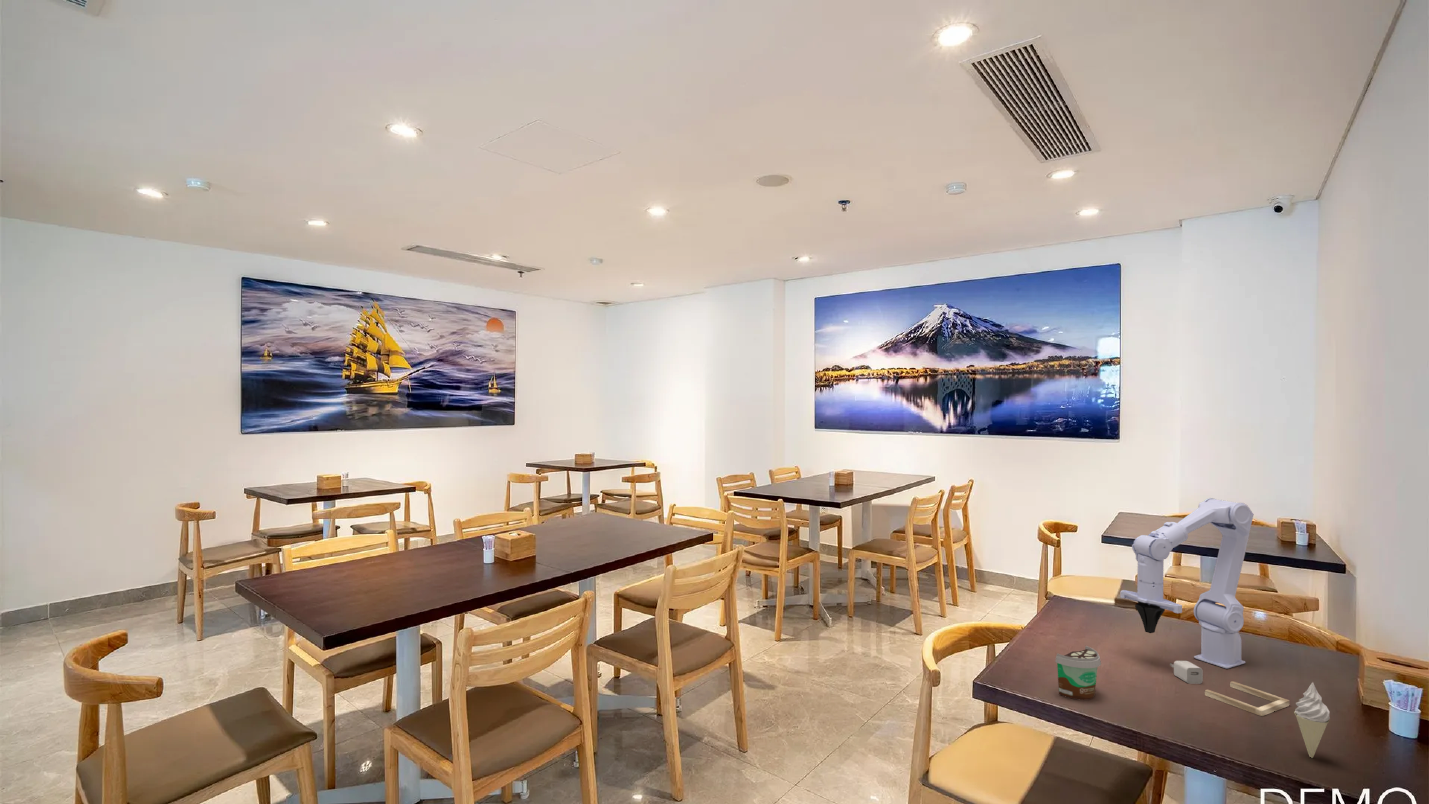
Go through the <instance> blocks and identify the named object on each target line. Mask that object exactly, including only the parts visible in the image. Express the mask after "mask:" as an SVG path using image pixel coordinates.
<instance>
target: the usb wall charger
mask: <svg viewBox="0 0 1429 804" xmlns="http://www.w3.org/2000/svg"><path fill="white" fill-rule="evenodd" d="M1169 666H1170V667H1171V668H1173V674H1174V676H1175V677H1177V678H1178V679H1180V680H1182V681H1183V682H1185V683H1187V684H1190V685H1191V684H1193V685H1194V684H1195V685H1196V684H1198V685H1199V684H1200V685H1201V684H1202V683H1203V677H1204V676H1203V673H1204V671H1203V668H1202V667H1199V666H1197V665H1196V664H1194V663H1192V662H1191V661H1188V660H1175V661H1174V662H1173V664H1172V663H1169Z"/></svg>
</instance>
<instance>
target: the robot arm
mask: <svg viewBox="0 0 1429 804" xmlns="http://www.w3.org/2000/svg"><path fill="white" fill-rule="evenodd" d="M1253 518H1254V513H1253V511H1252V510H1251V508H1250V507H1249V506H1248V505H1247V504H1246V503H1244V502H1236V501H1230V500H1222V499H1217V498H1213V497H1209V498H1206V499H1205V500H1203V501H1201V502H1199V503H1198V507H1197V508H1196V509H1194V510H1193V511H1192V512H1191V513H1189V514H1188V515H1186V516H1185V517H1183V518H1182V519H1180V520H1178V522H1175V521H1166V522H1164V523H1163V526H1161V527H1159V528H1158V529H1156V530H1152V531H1151V532H1150V533H1149V534H1148V535H1147V534H1141V535H1139V536H1138V537H1136V538H1135V539H1134V540H1133V544H1131V548H1132V551H1133V553H1134V554H1135V560H1136V562H1137V585H1136V586H1137V587H1136V588H1137V591H1131V590H1126V589H1123V590H1120V593H1119V595H1120V599H1127V600H1130V601H1133V602H1137V604H1134V606H1135V607H1134V608H1135V609H1136V610H1137V612H1138V614H1139V616H1140V619H1141V621H1142V625H1143V628H1144V632H1145V633H1148V634H1153V633H1156V628H1157V625H1158V624H1159V623H1158V622H1159V621H1160V619H1161V616H1162V615H1163V614H1164V613H1165V612H1166V610H1167V611H1170V612H1173V613H1175V614H1181V613H1183V604H1181V603H1180V604H1179V603H1176V602H1174V601H1171V600H1168V599H1165V598H1164V560H1166V559H1168V557H1169V555H1170V553H1171V552H1172V551H1173V548H1176V547H1178V546H1179V545H1181V544H1183V543H1184V542H1186V541H1187V540H1188V538H1189V534H1190V533H1192V532H1194V531H1196V530H1198V529H1200V528H1203V527H1204V526H1207V525H1209V524H1211V525H1212V526H1213V527H1214V528H1216V529H1217V530H1218V532H1220V534H1221V535H1222V537H1221V541H1220V545H1219V549H1218V554H1217V558H1216V562H1215V566H1214V567H1215V568H1214V571H1213V576H1212V579H1211V584H1210V588H1209V590H1206V591H1205V592H1202V593H1200V595H1199V597H1198V598H1199V599H1198V600H1197V602H1195V605H1194V607H1193V615H1194V617H1195V619H1196V620H1197V621H1198V625H1200V626H1201V627H1200V628H1201V629H1200V630H1201V633H1200V635H1201V639H1200V643H1201V644H1200V645H1201V648H1200V650H1201V651H1200V652H1201V653H1200V654H1197V655H1193V658H1194V659H1196V660H1199V661H1202V662H1205V663H1208V664H1212V665H1214V666H1217V667H1221V668H1223V669H1231V668H1234V667H1238V666H1240V665H1244V664H1246V660H1242V637H1241V635H1240V633H1239V631H1241V629H1242V628H1243V626H1244V621H1245V619H1244V609H1245V608H1244V606H1243V604H1242V603H1240V601H1239V600H1238V599H1237V598H1236V595H1237V589H1238V585H1239V580H1240V577H1241V572H1242V568H1243V564H1244V561H1245V560H1244V559H1245V556H1246V550H1247V547H1248V541H1249V538H1250V532H1251V527H1252V523H1253Z"/></svg>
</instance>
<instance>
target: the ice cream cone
mask: <svg viewBox="0 0 1429 804" xmlns="http://www.w3.org/2000/svg"><path fill="white" fill-rule="evenodd" d="M1302 695H1303V697H1302V698H1299V699H1298V701H1297V702H1295V705H1296V706H1297V707H1296V708H1295V709H1294V710H1295V711H1294V712H1293V713H1294V715H1295V717H1296V720H1297V723H1298V727H1299V730H1300V732H1301V735H1302V738H1303V741H1304V742H1303V743H1305V744H1304V745H1305V747H1306V750H1307V753H1308V756H1309V758H1310V757H1311V759H1313V758H1314V756H1315V754H1316V751H1317V749H1318V748H1319V744H1320V742H1321V739H1322V738H1323V735H1324V732H1325V730H1326V727H1327V725H1328V724H1329V722H1330V719H1331V717H1330V712H1331V711H1330V710H1329V708H1328V706H1327V705H1326V704H1324V703H1323V701H1322V698H1323V697H1322V696H1321V695H1320V694H1319V692H1318V690H1317V688H1316V686H1315V684H1314V682H1313V681H1312V682H1311V683H1310V685H1309V687H1308V688H1307V689H1306V690H1305V692H1303V693H1302Z"/></svg>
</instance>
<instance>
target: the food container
mask: <svg viewBox="0 0 1429 804" xmlns="http://www.w3.org/2000/svg"><path fill="white" fill-rule="evenodd" d="M1101 661H1102V660H1101V657H1100V654H1099V652H1098V651H1097V650H1095V648H1092V647H1090V646H1088V645H1085V648H1084V649H1083V650H1079V651H1076V650H1075V651H1071V652H1068V653H1066V654H1061V653H1056V656H1055V663H1056V664H1057V665H1056V666H1057V667H1056V668H1057V681H1058V682H1057V683H1058V695H1059V694H1060V696H1062V697H1065V696H1066V697H1065V698H1068V697H1069V698H1068V699H1073V700H1077V699H1080V700H1079V701H1089V700H1092V699H1095V696H1096V695H1095V694H1096V688H1097V687H1096V686H1097V675H1098V668H1099V667H1101V664H1102V662H1101Z"/></svg>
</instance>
